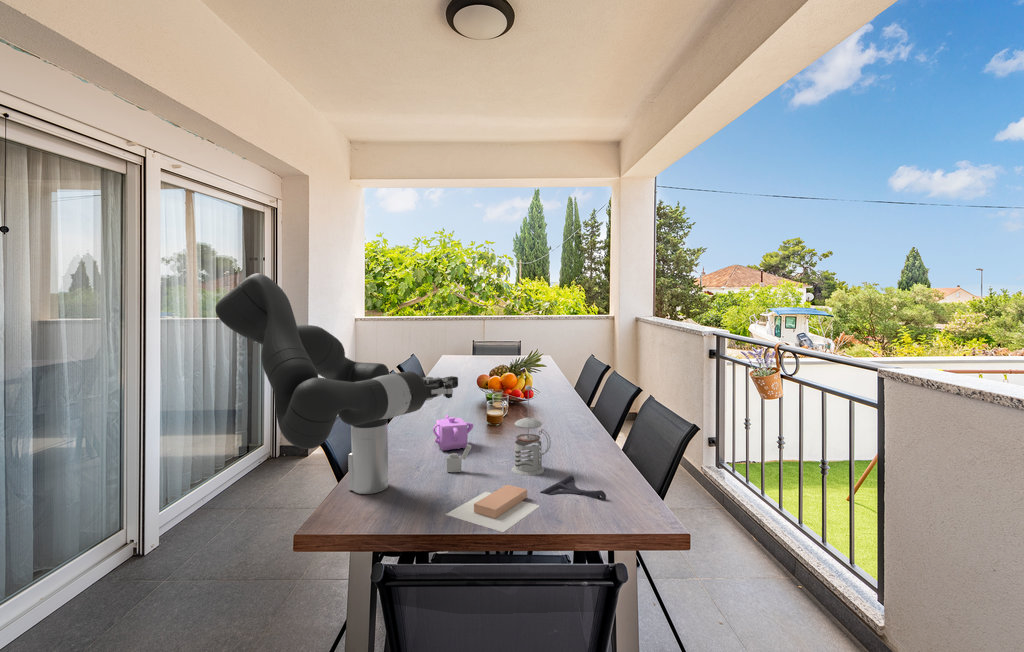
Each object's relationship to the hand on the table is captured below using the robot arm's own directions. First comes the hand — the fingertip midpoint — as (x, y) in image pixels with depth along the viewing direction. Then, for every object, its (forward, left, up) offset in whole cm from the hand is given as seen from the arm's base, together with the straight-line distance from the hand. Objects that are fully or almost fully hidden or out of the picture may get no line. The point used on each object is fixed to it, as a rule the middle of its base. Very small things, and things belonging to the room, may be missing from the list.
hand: (455, 381), depth 102 cm
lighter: (-12, +37, -33) cm, 51 cm away
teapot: (-22, +60, -33) cm, 72 cm away
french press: (+8, +43, -33) cm, 55 cm away
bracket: (+23, +29, -34) cm, 50 cm away
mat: (+5, +13, -33) cm, 36 cm away
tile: (+3, +10, -31) cm, 33 cm away
